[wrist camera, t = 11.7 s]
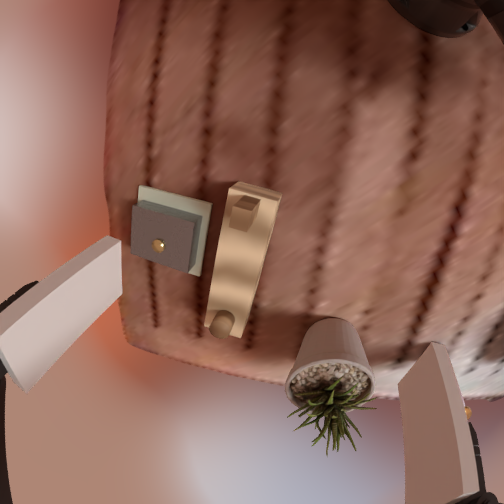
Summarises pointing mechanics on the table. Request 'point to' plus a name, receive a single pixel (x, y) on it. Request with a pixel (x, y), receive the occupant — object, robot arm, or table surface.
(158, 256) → the grey block with knob
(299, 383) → the potted plant
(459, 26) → the robot arm
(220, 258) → the body
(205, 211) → the felt pad
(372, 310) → the table surface
